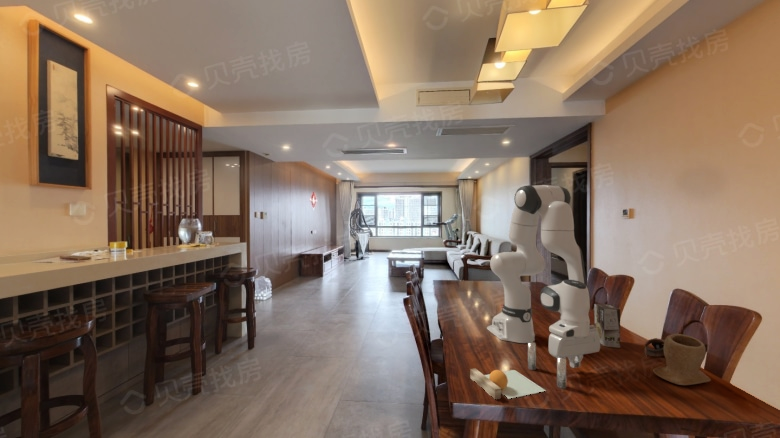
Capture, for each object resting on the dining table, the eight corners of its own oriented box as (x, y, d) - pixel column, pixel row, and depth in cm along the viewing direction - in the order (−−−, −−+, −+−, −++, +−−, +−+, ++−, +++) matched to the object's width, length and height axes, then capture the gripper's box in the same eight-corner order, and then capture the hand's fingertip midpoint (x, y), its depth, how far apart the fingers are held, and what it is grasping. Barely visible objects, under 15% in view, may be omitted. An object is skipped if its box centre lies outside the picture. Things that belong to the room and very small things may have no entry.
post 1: (526, 367, 109) (526, 342, 110) (532, 366, 110) (532, 341, 110) (531, 370, 107) (531, 345, 107) (537, 369, 108) (537, 344, 108)
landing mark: (480, 376, 103) (480, 375, 103) (514, 370, 107) (514, 369, 107) (508, 399, 89) (508, 398, 89) (546, 391, 94) (546, 390, 94)
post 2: (555, 385, 97) (555, 356, 98) (561, 383, 98) (561, 355, 98) (561, 389, 95) (561, 360, 95) (568, 387, 96) (568, 359, 96)
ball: (485, 384, 97) (486, 367, 97) (500, 383, 98) (501, 366, 99) (495, 393, 92) (496, 375, 92) (510, 392, 93) (512, 374, 93)
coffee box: (621, 348, 127) (621, 309, 127) (604, 346, 128) (603, 308, 128) (610, 339, 136) (609, 303, 136) (594, 338, 137) (593, 302, 137)
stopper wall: (470, 378, 101) (470, 369, 102) (475, 377, 102) (475, 368, 102) (495, 399, 89) (495, 389, 89) (500, 398, 90) (500, 388, 90)
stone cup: (685, 393, 93) (685, 344, 94) (647, 374, 105) (646, 330, 105) (725, 389, 96) (725, 341, 96) (683, 370, 107) (683, 328, 108)
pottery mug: (686, 367, 111) (675, 348, 111) (656, 372, 116) (645, 354, 115) (671, 347, 122) (661, 329, 122) (644, 352, 126) (634, 335, 126)
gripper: (588, 321, 113) (588, 358, 113) (545, 327, 107) (545, 366, 107) (605, 327, 107) (605, 366, 107) (560, 333, 101) (560, 375, 101)
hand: (575, 366), depth 107 cm, fingers closed
